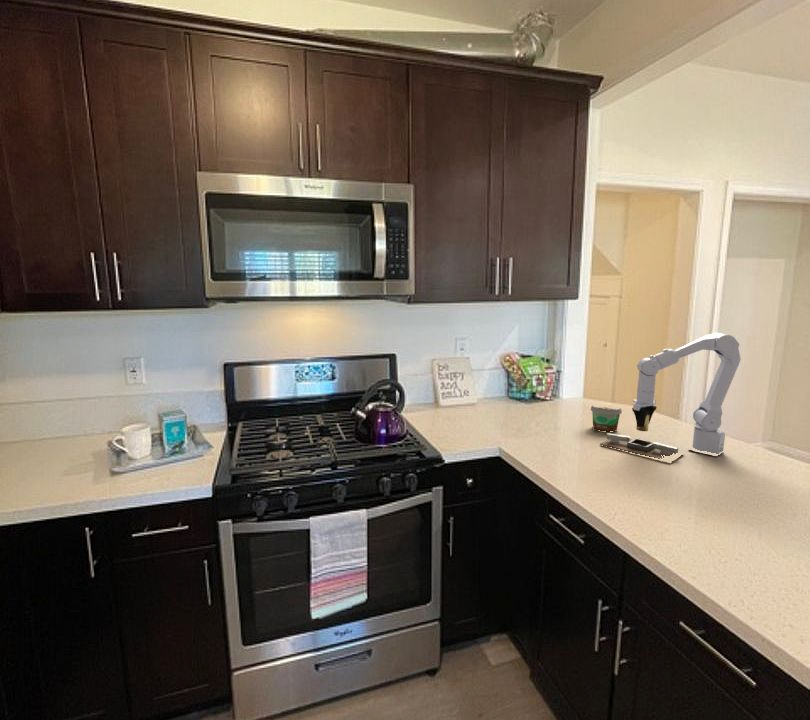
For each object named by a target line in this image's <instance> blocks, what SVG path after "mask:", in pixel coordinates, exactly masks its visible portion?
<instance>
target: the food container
mask: <svg viewBox="0 0 810 720" xmlns="http://www.w3.org/2000/svg"><path fill="white" fill-rule="evenodd" d="M590 411H591V414H592V429H593V428H594V429H593V430H595V429H596V430H595V431H597V430H600V431H606V432H605V433H607V432H610V431H615V430H618V426H619V422H620V416H621V414H622V408H621V407H620V408H619V409H615V408H614V409H613V408H610V407H597V406H594V405H591V407H590ZM600 431H599V432H600Z"/></svg>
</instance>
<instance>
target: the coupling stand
mask: <svg viewBox="0 0 810 720" xmlns="http://www.w3.org/2000/svg"><path fill="white" fill-rule="evenodd" d="M600 445H603V446H607V447H612V448H616V449H620V450H624V451H628V452H632V453H635V454H640V455H645V456H649V457H654V458H658V459H660V458H661V459H662V456H663V455H665V456H670V455H672V454H673V453H674V454H676V453H678V451H679V447H677V446H672V445H669V444H668V445H667V444H664V443H660V442H657V441H656V442H655V441H654V442H653V441H650V440H645V439H641V438H636V437H635V438H633V439H631V436H630V435H623V434H618V433H617V434H616V433H607V432H606V440H603V441H602V442H600V443H599V446H600ZM603 446H602V447H603ZM607 447H606V448H607ZM661 455H662V456H661ZM663 458H664V456H663Z"/></svg>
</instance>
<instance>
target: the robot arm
mask: <svg viewBox="0 0 810 720" xmlns="http://www.w3.org/2000/svg"><path fill="white" fill-rule="evenodd" d="M739 347H740V343H739V342H738V340H737V339H736V338H735V336H732V335H730V334H725V333H722V332H719V331H718V332H717V331H714V332H712V333H710V334H706V335H704V336H702V337H699V338H698V339H695V340H694V341H691V342H689V343H687V344H686V345H683V346H681V347H678V348H676V349H672V348H664V349H662V351H661V352H659V353H657V354H654V355H653V354H651V355H649V357H644V358H642V359H640V360H639V361H638V364H637V365H636V366H637V369H638V378H637V390H636V391H637V392H636V399H633V400H632V402H633V403H634V404H633V407H632V409H631V411H632V412H633V414H634V417H635V422H636V427H637V426H638V427H644V424H645V420H646V416H647V414H649V424H650V423H651V420H652V416H653V415H654V413H655V411H656V410H657V405H656V401H657V399H656V398H655V390H656V377H657V376H656V375H657V374H658V373H659V371H660V370H661V371H662V370H663V369H666V368H668V367H671V366H673V365H676V364H678V363H679V361H680V359H681V358H684V357H687V356H689V355H693V354H695V353H697V352H700V351H703V350H705V351H713V352H715V353H716V354H717V357H718V358H719V359H720V363H719V365H718V368H717V370H716V372H715V375H714V377H713V380H712V382H711V384H710V387H709V390H708V392H707V394H706V397H705V399H704V400H703V401H702V402H700V404H699V406H698V408H697V409H695V410H694V412H693V413H692V417H693V418H692V419H693V421H694V422H695V424H694V428H693V436H692V437H693V438H692V439H693V440H692V446H691V447H693V448H695V449H697V450H700V451H707V452H711V453H716V454H719V453H720V452H722V451H724V447H725V441H726V434H725V432H724V431H721V430H719V428H720V427H721V425H722V416H723V410H722V405H723V402H724V400H725V398H726V395H727V393H728V391H729V388H730V386H731V385H732V381H733V379H734V377H735V374H736V372H737V369H738V367H739V365H740V363H741V355H740V349H739ZM655 405H656V406H655Z"/></svg>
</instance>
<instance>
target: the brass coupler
mask: <svg viewBox="0 0 810 720" xmlns="http://www.w3.org/2000/svg"><path fill="white" fill-rule="evenodd" d="M649 424H650V423H649V414H647V416H646V420H645V424H644V427H638V426H637V425H636V428H635V429H636V430H637V431H639V432H648V431H649Z"/></svg>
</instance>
